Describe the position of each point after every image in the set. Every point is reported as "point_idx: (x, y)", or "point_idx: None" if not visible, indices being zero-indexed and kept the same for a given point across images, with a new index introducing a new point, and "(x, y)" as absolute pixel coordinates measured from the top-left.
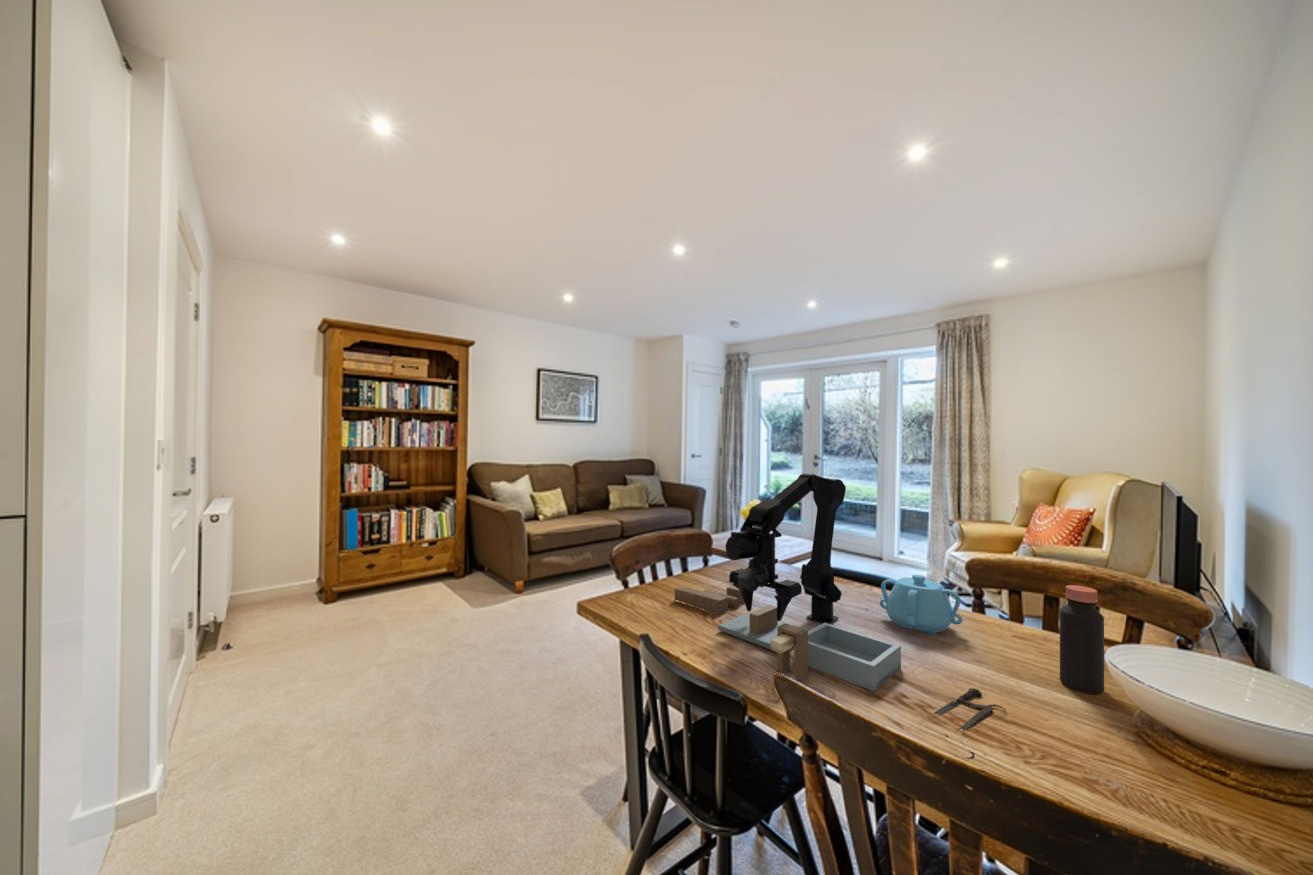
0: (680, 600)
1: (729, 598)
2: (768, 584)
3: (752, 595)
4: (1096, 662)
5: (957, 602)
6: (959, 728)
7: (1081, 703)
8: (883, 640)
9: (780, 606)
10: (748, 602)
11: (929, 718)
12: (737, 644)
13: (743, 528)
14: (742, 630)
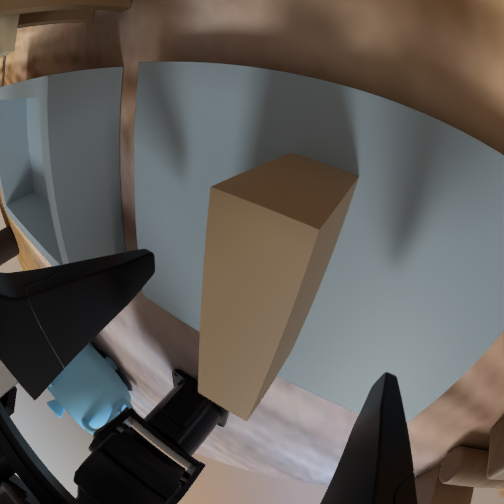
0: None
1: (474, 476)
2: (20, 474)
3: (327, 494)
4: None
5: None
6: (3, 76)
7: (3, 205)
8: (14, 221)
9: (38, 273)
10: (369, 436)
11: (10, 71)
12: (394, 40)
13: None
14: (411, 165)
